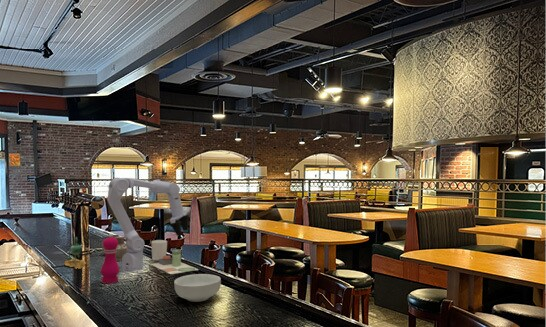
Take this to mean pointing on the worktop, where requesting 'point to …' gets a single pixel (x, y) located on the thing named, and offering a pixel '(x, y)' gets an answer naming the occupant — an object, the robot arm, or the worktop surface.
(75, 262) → the frog figurine
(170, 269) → the picture board
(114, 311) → the worktop surface
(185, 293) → the cereal bowl
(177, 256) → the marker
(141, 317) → the worktop surface
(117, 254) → the pottery
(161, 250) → the white cup
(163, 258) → the button
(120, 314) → the worktop surface
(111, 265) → the pepper mill
